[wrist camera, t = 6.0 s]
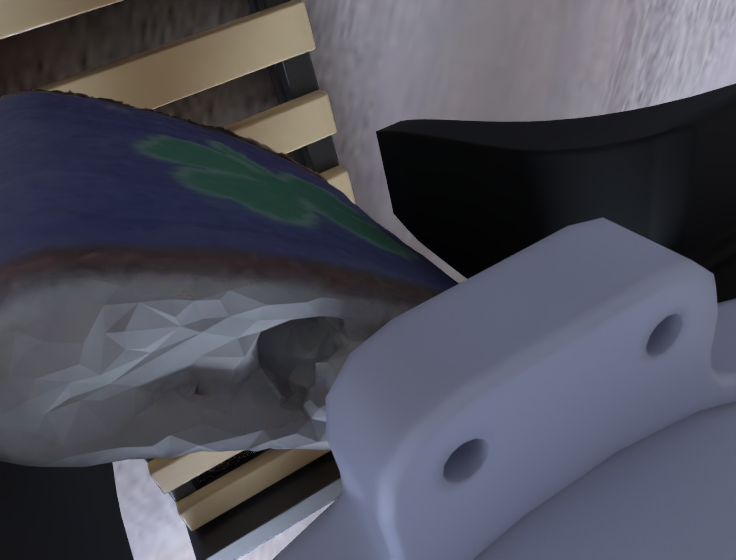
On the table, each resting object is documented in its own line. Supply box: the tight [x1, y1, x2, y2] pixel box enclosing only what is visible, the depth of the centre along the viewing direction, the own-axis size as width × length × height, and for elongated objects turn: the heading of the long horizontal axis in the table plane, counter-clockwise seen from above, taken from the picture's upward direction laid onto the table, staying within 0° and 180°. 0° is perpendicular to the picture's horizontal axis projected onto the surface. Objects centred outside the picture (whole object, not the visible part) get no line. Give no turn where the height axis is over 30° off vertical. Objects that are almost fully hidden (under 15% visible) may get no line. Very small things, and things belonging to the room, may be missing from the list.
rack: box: [0, 0, 356, 560], centre depth 21 cm, size 11×24×4 cm, turn 13°
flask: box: [0, 89, 459, 467], centre depth 10 cm, size 9×3×11 cm, turn 61°
